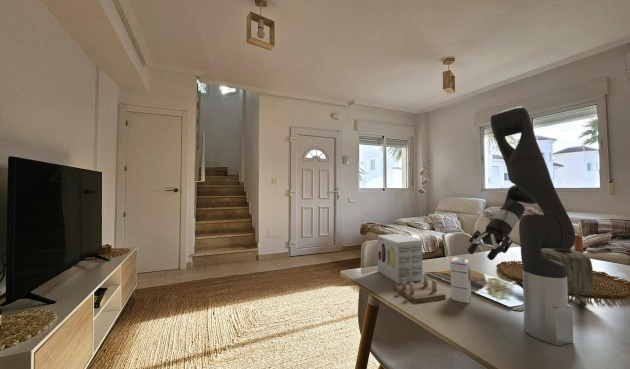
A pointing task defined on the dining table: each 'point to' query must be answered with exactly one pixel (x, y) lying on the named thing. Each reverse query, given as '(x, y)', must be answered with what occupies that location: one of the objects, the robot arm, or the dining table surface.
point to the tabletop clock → (574, 270)
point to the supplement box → (400, 257)
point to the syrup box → (460, 279)
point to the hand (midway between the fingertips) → (478, 255)
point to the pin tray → (420, 291)
